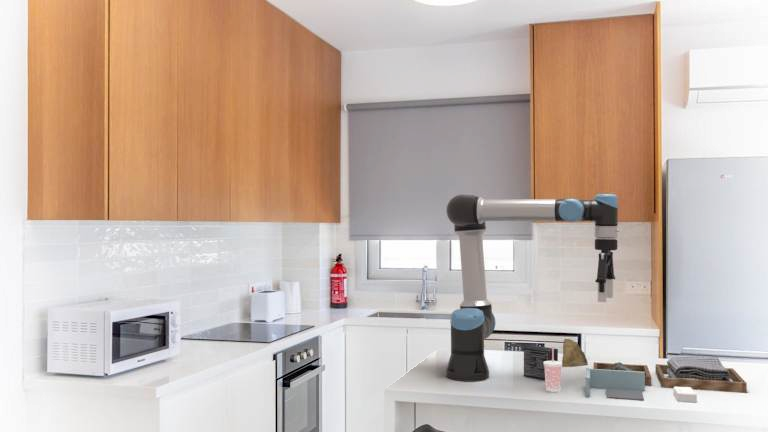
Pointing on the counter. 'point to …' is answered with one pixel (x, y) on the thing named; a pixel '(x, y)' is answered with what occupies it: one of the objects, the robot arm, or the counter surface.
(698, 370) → the towel
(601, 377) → the divider
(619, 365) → the fossilized seashell
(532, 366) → the small box
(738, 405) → the counter surface
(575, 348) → the rock
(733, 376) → the towel frame
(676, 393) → the soap
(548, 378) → the beverage cup
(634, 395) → the coaster
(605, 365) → the frame
